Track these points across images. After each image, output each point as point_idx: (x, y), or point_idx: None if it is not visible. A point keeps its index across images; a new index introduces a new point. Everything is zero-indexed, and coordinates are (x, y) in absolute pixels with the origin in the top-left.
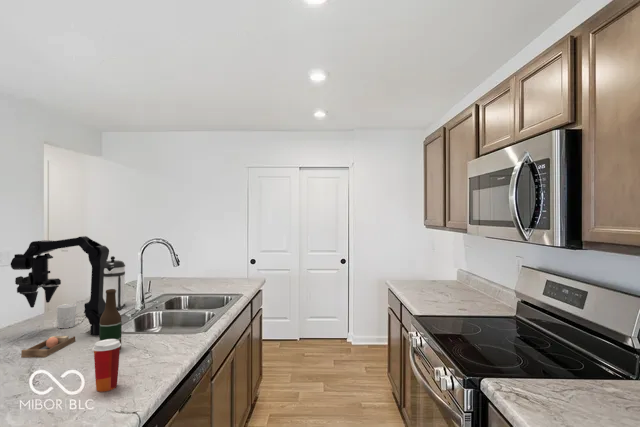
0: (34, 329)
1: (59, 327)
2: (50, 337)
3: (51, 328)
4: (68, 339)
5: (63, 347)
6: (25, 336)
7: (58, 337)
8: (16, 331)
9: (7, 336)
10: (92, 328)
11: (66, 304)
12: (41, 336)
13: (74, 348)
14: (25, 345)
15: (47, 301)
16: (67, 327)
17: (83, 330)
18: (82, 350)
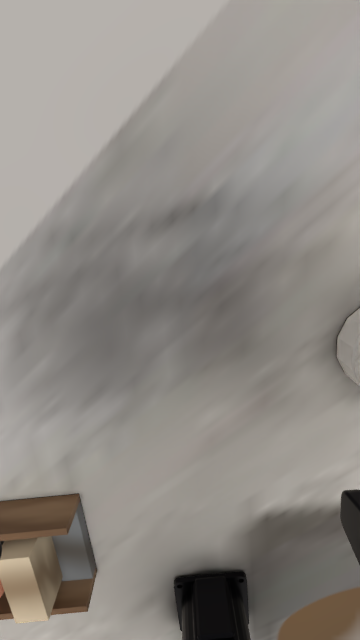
0: (325, 168)
1: (343, 332)
2: (3, 563)
3: (344, 275)
4: None
5: None
6: (169, 244)
7: (13, 596)
8: (276, 59)
9: (155, 106)
10: (194, 632)
11: None
12: (179, 344)
13: None
14: (26, 382)
15: (350, 523)
16: (347, 374)
17: (297, 482)
18: (31, 636)
